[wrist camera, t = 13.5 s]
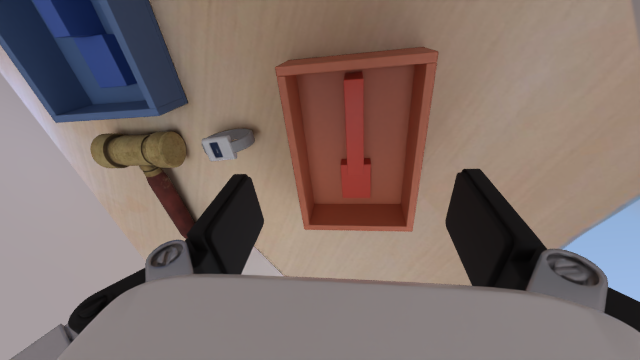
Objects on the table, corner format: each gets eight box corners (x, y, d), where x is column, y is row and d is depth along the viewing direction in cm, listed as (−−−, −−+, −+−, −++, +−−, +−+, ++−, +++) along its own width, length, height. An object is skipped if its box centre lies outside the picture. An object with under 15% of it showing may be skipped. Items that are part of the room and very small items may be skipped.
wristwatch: (256, 119, 29) (239, 135, 25) (262, 140, 31) (247, 158, 27) (211, 126, 31) (188, 141, 26) (219, 145, 32) (199, 163, 28)
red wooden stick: (336, 73, 25) (333, 80, 22) (371, 70, 24) (374, 77, 21) (343, 191, 33) (341, 209, 29) (369, 191, 32) (371, 210, 29)
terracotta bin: (288, 60, 25) (274, 67, 21) (423, 46, 23) (438, 51, 19) (310, 205, 36) (304, 229, 31) (405, 205, 33) (412, 231, 29)
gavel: (216, 255, 40) (163, 252, 41) (228, 234, 43) (178, 232, 45) (153, 141, 27) (80, 143, 29) (177, 125, 31) (111, 128, 33)
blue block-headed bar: (16, -96, 21) (-49, -119, 17) (49, -104, 20) (-12, -130, 17) (112, 85, 29) (80, 93, 25) (138, 83, 28) (108, 90, 25)
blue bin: (-36, -111, 21) (-134, -145, 17) (92, -147, 19) (15, -197, 15) (96, 109, 32) (55, 122, 27) (188, 102, 29) (159, 116, 25)
